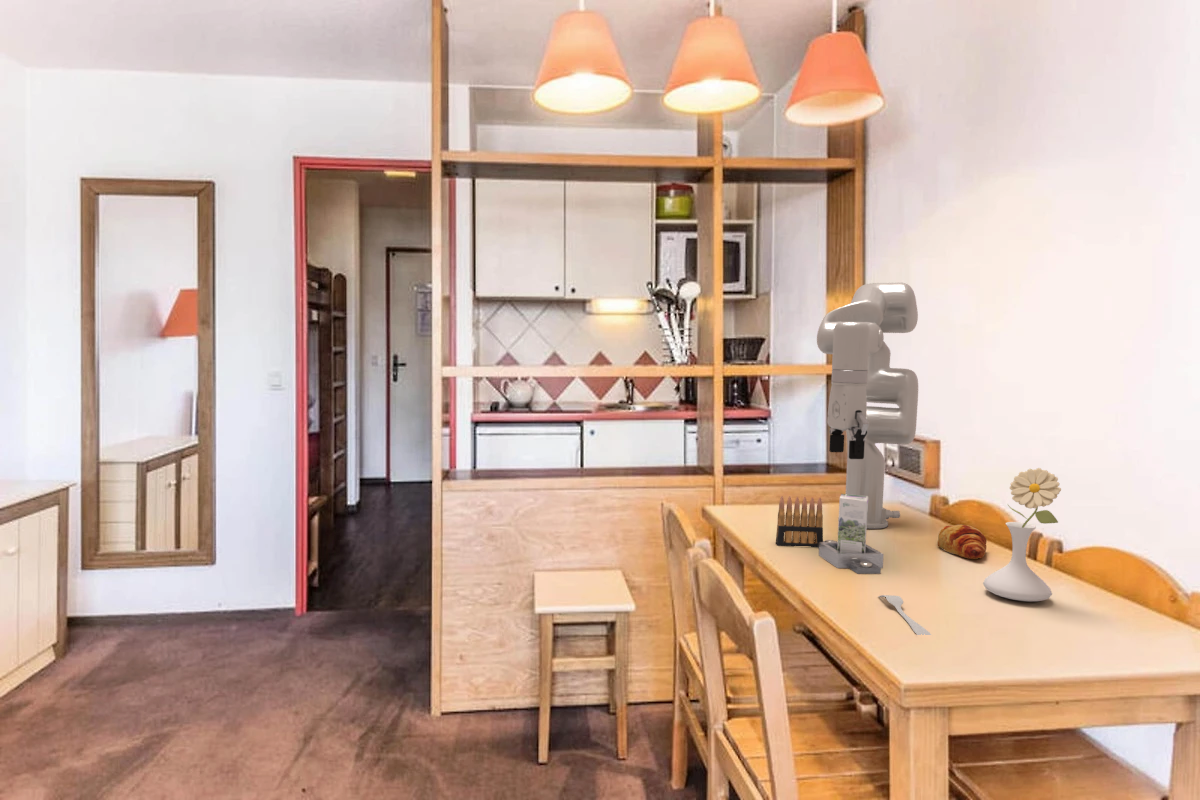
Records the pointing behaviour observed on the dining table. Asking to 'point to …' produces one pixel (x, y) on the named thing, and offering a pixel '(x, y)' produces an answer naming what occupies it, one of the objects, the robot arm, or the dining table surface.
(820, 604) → the dining table surface
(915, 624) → the fork
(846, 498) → the syrup box
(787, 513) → the ammunition clip
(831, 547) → the bolted metal bracket
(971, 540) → the croissant
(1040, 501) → the flower in vase
